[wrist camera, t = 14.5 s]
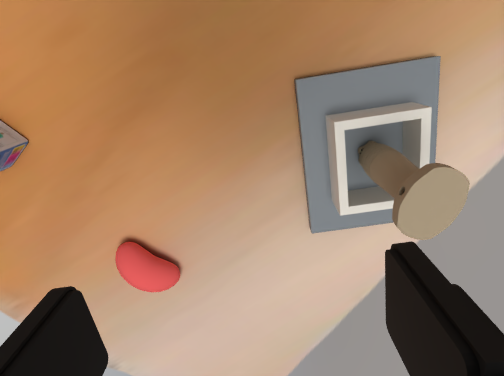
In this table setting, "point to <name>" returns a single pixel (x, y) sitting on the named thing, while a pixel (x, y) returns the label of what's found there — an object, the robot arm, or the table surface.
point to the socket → (363, 136)
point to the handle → (416, 190)
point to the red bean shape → (145, 268)
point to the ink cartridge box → (10, 146)
